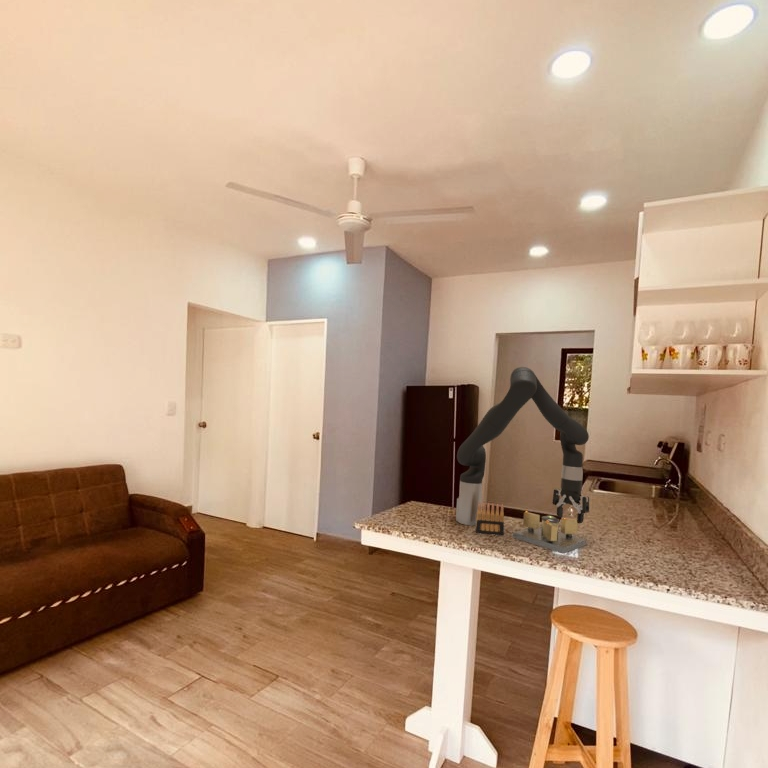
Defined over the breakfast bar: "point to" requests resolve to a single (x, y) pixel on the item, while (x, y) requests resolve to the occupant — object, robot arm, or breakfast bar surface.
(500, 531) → the ammunition clip
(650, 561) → the breakfast bar surface
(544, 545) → the plate
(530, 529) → the block with orange knob
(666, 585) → the breakfast bar surface
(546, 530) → the knob front
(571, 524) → the cream rectangular block
